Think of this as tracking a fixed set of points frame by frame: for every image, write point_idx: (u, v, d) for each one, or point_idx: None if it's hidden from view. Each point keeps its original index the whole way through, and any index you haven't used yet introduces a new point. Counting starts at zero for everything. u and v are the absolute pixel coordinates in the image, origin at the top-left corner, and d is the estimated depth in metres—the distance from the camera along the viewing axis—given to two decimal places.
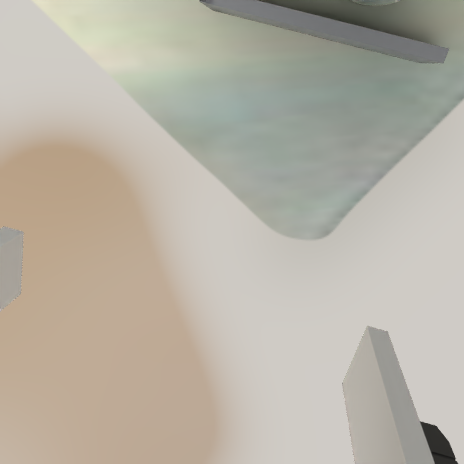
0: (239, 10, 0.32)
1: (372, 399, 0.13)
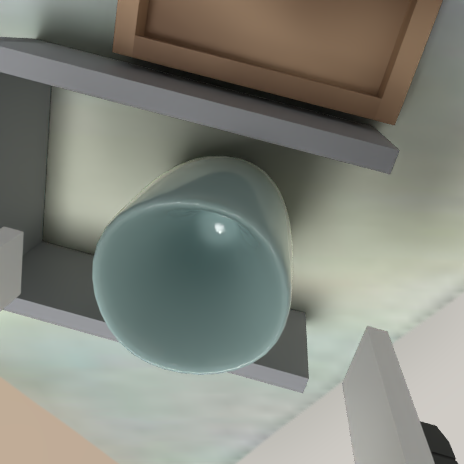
0: (18, 312, 0.23)
1: (372, 399, 0.13)
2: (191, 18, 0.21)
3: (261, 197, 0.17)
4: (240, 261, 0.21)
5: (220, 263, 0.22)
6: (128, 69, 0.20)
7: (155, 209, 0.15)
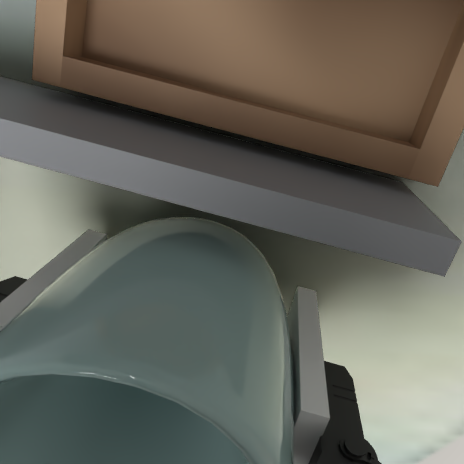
0: None
1: (291, 345, 0.15)
2: (146, 32, 0.15)
3: (237, 322, 0.09)
4: None
5: None
6: (52, 104, 0.14)
7: (18, 376, 0.08)
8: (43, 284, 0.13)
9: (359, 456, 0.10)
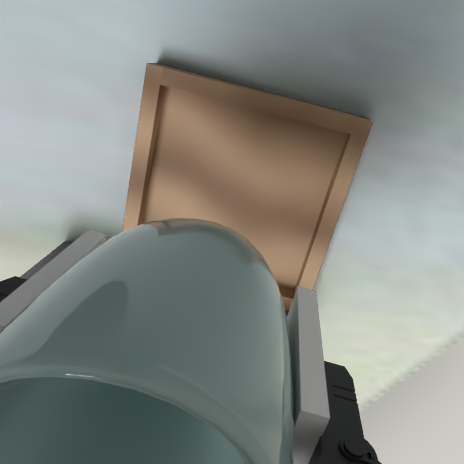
0: None
1: (291, 345, 0.15)
2: None
3: (237, 324, 0.09)
4: None
5: None
6: None
7: (17, 379, 0.07)
8: (43, 284, 0.13)
9: (359, 456, 0.10)
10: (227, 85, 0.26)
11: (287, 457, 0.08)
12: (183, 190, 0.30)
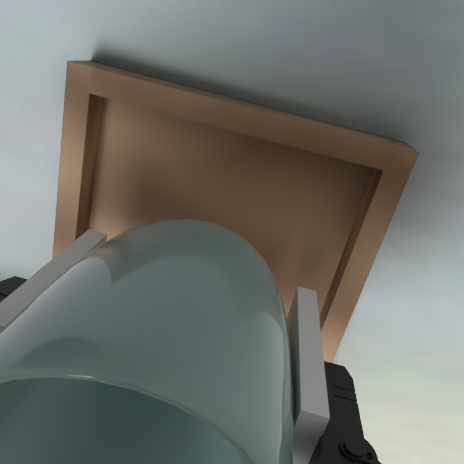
0: None
1: (291, 345, 0.15)
2: None
3: (237, 324, 0.09)
4: None
5: None
6: None
7: (16, 379, 0.07)
8: (43, 284, 0.13)
9: (359, 456, 0.10)
10: (192, 95, 0.17)
11: (287, 458, 0.08)
12: None
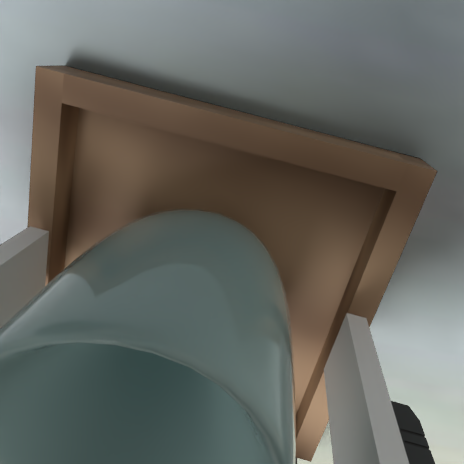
0: None
1: (348, 381, 0.14)
2: None
3: (243, 301, 0.10)
4: None
5: (186, 368, 0.15)
6: None
7: (44, 345, 0.08)
8: None
9: None
10: (178, 105, 0.15)
11: (289, 421, 0.09)
12: None
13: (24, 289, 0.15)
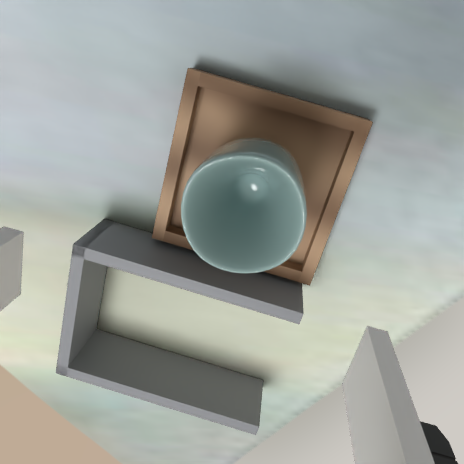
0: (88, 382, 0.38)
1: (372, 399, 0.13)
2: None
3: (288, 159, 0.27)
4: (269, 208, 0.30)
5: (253, 211, 0.31)
6: (161, 250, 0.36)
7: (226, 161, 0.25)
8: None
9: None
10: (254, 88, 0.31)
11: (305, 197, 0.26)
12: None
13: None
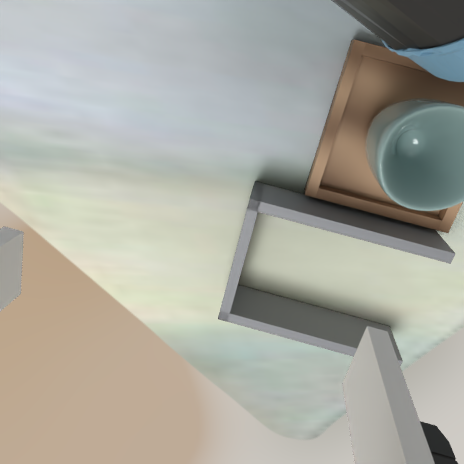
0: (247, 326, 0.43)
1: (372, 399, 0.13)
2: (344, 177, 0.42)
3: None
4: (433, 159, 0.35)
5: (415, 163, 0.36)
6: (315, 205, 0.41)
7: (425, 111, 0.29)
8: None
9: None
10: None
11: None
12: (360, 137, 0.40)
13: None
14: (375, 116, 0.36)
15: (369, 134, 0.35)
